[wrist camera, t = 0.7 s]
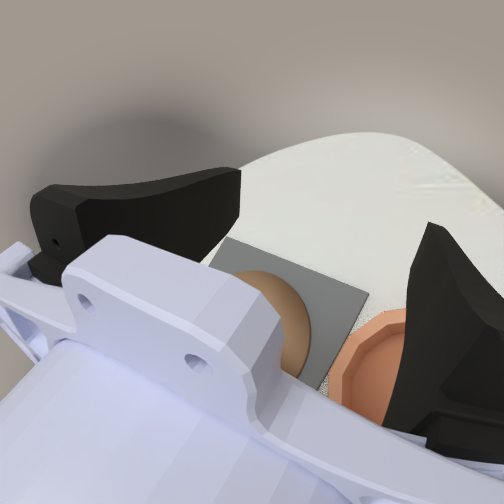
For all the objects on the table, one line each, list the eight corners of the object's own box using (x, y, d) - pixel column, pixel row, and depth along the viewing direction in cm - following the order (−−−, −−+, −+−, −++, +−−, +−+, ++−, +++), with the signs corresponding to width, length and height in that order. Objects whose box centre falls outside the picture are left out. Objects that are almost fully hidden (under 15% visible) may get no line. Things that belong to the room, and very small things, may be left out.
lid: (259, 438, 25) (231, 441, 21) (166, 362, 34) (135, 353, 30) (338, 304, 28) (323, 286, 24) (229, 256, 36) (204, 235, 33)
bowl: (429, 476, 17) (430, 490, 14) (317, 418, 24) (299, 420, 21) (494, 350, 19) (507, 339, 16) (380, 303, 26) (373, 286, 23)
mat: (266, 466, 24) (264, 467, 24) (152, 367, 35) (149, 367, 35) (369, 294, 27) (368, 292, 27) (228, 237, 38) (226, 236, 38)
